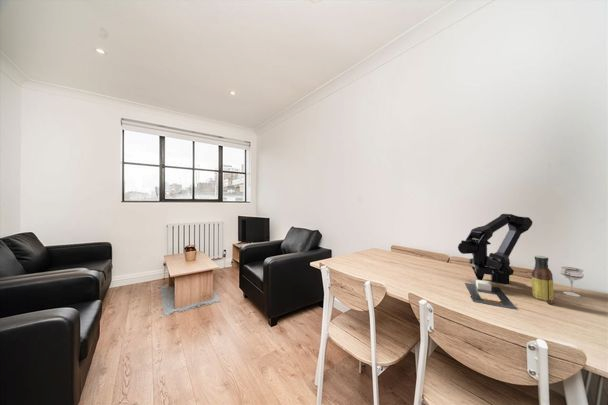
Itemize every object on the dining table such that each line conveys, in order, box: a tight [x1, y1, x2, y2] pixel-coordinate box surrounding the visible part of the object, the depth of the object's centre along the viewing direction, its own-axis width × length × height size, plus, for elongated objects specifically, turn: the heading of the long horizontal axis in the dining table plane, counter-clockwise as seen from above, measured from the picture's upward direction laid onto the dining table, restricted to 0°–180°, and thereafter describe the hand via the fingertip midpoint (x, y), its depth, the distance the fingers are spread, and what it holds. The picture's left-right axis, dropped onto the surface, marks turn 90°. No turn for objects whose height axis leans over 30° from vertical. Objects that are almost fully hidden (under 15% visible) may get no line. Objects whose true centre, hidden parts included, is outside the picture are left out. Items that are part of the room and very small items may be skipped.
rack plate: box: [464, 282, 517, 310], centre depth 99 cm, size 14×20×1 cm
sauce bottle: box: [531, 255, 555, 305], centre depth 93 cm, size 6×6×20 cm
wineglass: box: [559, 266, 584, 297], centre depth 98 cm, size 7×7×12 cm
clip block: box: [475, 279, 492, 291], centre depth 104 cm, size 5×5×3 cm
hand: (479, 282), depth 110 cm, fingers closed
